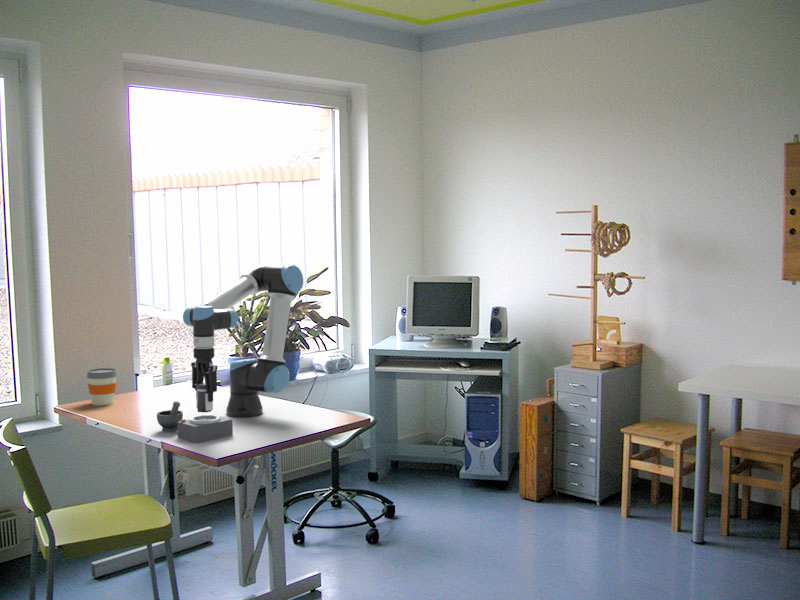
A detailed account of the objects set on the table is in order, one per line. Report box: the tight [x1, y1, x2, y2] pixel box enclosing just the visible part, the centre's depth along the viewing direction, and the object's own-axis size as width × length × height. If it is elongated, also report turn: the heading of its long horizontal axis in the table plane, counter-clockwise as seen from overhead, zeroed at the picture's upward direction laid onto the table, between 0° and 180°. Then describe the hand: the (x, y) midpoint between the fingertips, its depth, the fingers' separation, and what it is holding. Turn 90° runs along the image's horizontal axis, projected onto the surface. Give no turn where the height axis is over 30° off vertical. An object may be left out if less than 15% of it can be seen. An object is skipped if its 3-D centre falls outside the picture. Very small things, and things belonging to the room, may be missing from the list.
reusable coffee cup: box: [86, 367, 118, 406], centre depth 344 cm, size 13×13×15 cm
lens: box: [196, 382, 212, 413], centre depth 287 cm, size 5×5×10 cm
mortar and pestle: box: [156, 401, 184, 433], centre depth 296 cm, size 11×9×12 cm
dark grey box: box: [177, 414, 234, 444], centre depth 288 cm, size 16×12×7 cm
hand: (204, 408), depth 287 cm, fingers closed on lens, 5 cm apart
